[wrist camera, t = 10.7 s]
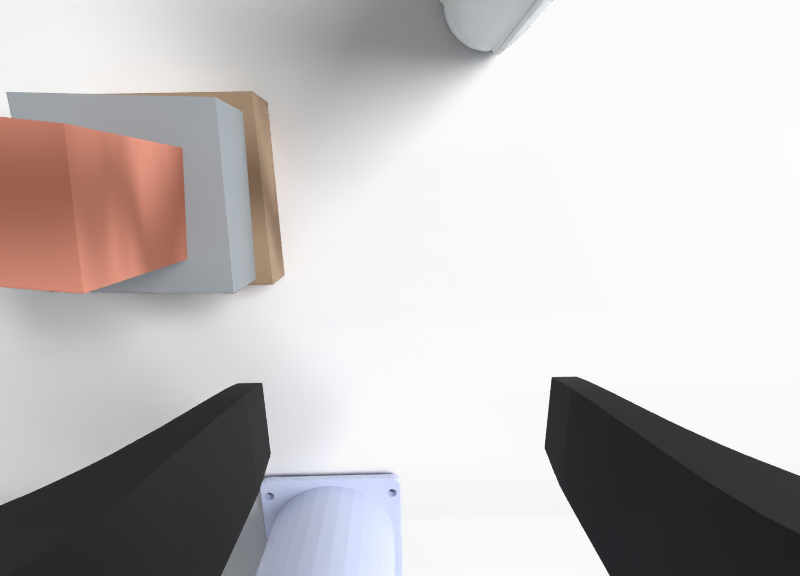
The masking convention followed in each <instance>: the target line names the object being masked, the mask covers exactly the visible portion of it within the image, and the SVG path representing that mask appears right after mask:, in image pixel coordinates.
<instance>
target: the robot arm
mask: <svg viewBox="0 0 800 576" xmlns="http://www.w3.org/2000/svg"><path fill="white" fill-rule="evenodd" d="M545 450H546V453H547V455H548V458H549V460H550V463H551V466H552V468H553V471H554V473H555V475H556V478H557V480H558V482H559V485H560V487H561V489H562V491H563V493H564V494H565V496H566V498H567V500H568V502H569V504H570V505H571V507H572V509H573V511H574V513H575V514H576V516H577V518H578V520H579V522H580V523H581V525H582V527H583V529H584V531H585V532H586V534H587V536H588V538H589V539H590V541H591V543H592V545H593V547H594V548H595V550H596V552H597V554H598V555H599V557H600V559H601V561H602V563H603V564H604V566H605V568H606V570H607V571H608V573H609V575H610V576H800V476H799V475H796V474H793V473H791V472H788V471H786V470H783V469H780V468H778V467H775V466H773V465H770V464H767V463H765V462H762V461H760V460H757V459H755V458H752V457H749V456H747V455H744V454H742V453H740V452H737V451H735V450H732V449H730V448H728V447H725V446H723V445H721V444H718V443H716V442H714V441H712V440H709V439H707V438H705V437H703V436H701V435H698V434H696V433H694V432H692V431H689V430H687V429H685V428H683V427H681V426H679V425H677V424H675V423H672V422H670V421H668V420H666V419H664V418H662V417H660V416H658V415H656V414H654V413H652V412H650V411H648V410H646V409H644V408H642V407H640V406H638V405H636V404H634V403H632V402H630V401H628V400H626V399H624V398H622V397H620V396H618V395H616V394H614V393H612V392H610V391H608V390H606V389H604V388H602V387H599V386H597V385H595V384H593V383H591V382H589V381H586V380H584V379H581V378H578V377H552V380H551V390H550V400H549V410H548V419H547V429H546V439H545ZM270 454H271V452H270V444H269V436H268V427H267V419H266V411H265V403H264V394H263V386H262V383H237V384H235V385H233V386H231V387H229V388H227V389H225V390H223V391H221V392H220V393H218V394H216V395H214V396H213V397H211V398H209V399H207V400H206V401H204V402H202V403H201V404H199V405H197V406H196V407H194V408H192V409H191V410H189V411H187V412H186V413H184V414H182V415H180V416H179V417H177V418H175V419H174V420H172V421H170V422H169V423H167V424H165V425H163V426H162V427H160V428H158V429H156V430H155V431H153V432H151V433H149V434H147V435H145V436H144V437H142V438H140V439H138V440H136V441H135V442H133V443H131V444H129V445H127V446H126V447H124V448H122V449H120V450H118V451H116V452H115V453H113V454H111V455H109V456H107V457H105V458H103V459H101V460H99V461H97V462H95V463H93V464H91V465H89V466H87V467H85V468H83V469H81V470H79V471H77V472H75V473H73V474H71V475H68V476H66V477H64V478H62V479H60V480H58V481H56V482H53V483H51V484H49V485H47V486H45V487H43V488H40V489H38V490H36V491H34V492H31V493H29V494H27V495H24V496H22V497H19V498H17V499H15V500H12V501H10V502H7V503H5V504H3V505H0V576H221V574H222V572H223V570H224V568H225V566H226V563H227V561H228V559H229V557H230V555H231V552H232V550H233V548H234V546H235V544H236V542H237V539H238V537H239V535H240V533H241V531H242V529H243V526H244V524H245V522H246V520H247V518H248V515H249V513H250V511H251V509H252V507H253V504H254V502H255V500H256V497H257V495H258V493H259V490H260V492H261V500H262V508H263V516H264V524H265V532H266V540H267V544H266V547H265V550H264V553H263V556H262V558H261V561H260V564H259V567H258V570H257V573H256V575H255V576H402V538H401V481H400V478H399V477H398V476H397V475H395V474H373V475H334V476H296V477H268V478H265V479H264V480H263V477H264V474H265V471H266V468H267V464H268V461H269V458H270ZM391 489H393V490H395V491H393V492H391V491H389V490H391ZM268 493H272V494H273V495H270V494H268Z"/></svg>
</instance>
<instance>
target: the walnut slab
mask: <svg viewBox="0 0 800 576" xmlns="http://www.w3.org/2000/svg"><path fill="white" fill-rule="evenodd" d="M109 95H151V96H193V97H216V98H218V99H220V100H222V101H224V102H225V103H227V104H229V105H231V106H233V107H235V108H237V109H238V110H240V111H242V112H243V120H244V133H245V145H246V158H247V171H248V183H249V196H250V209H251V221H252V234H253V246H254V259H255V272H256V280H254V281H253V282H251V283H250V284H248V285H266V284H274V283H275V282H276V281H278V280H279V279H280V278H281V277H283V276H284V266H283V256H282V246H281V235H280V225H279V215H278V205H277V195H276V185H275V175H274V165H273V155H272V144H271V134H270V124H269V114H268V104H267V102H266V101H265V100H263V99H262V98H260V97H259V96H258V95H256V94H255V93H253V92H252V91H248V92H189V93H131V94H109Z"/></svg>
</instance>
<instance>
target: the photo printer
mask: <svg viewBox="0 0 800 576" xmlns="http://www.w3.org/2000/svg"><path fill="white" fill-rule="evenodd" d="M552 1H553V0H440V2H441V3H442V4H443V5H444V14H445V18H446V21H447V24H448V26H449V28H450V30H451V31H452V33H453V34H454V35H455V36H456V38H457V39H458V40H459V41H461V42H462V43H463V44H464V45H466V46H467V47H469V48H471V49H474V50H478V51H485V52H487V51H490V50H492V51H493V52H494V53H495V54H496V55H498V54H500V53H501V52H503V51H504V50H505V49H507V48H508V47H509V46H510V45H511V44H512V43H514V42H515V41H516V40H517V39H518V38H519V37H520V36H521V35H522V34H523V33H524V32H525V31H526V30H527V29H528V28H529V26H530V25H531V24H532V23H533V22H534V21H535V20H536V19H537V18H538V16H539V15H540V14H541V13H542V12H543V11H544V10H545V9H546V7H547V6H548V5H549V4H550V3H551V2H552Z"/></svg>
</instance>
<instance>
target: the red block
mask: <svg viewBox="0 0 800 576" xmlns="http://www.w3.org/2000/svg"><path fill="white" fill-rule="evenodd" d="M186 259H187V238H186V215H185V192H184V170H183V148H181V147H176V146H171V145H166V144H161V143H157V142H152V141H147V140H142V139H137V138H132V137H128V136H123V135H118V134H113V133H108V132H103V131H99V130H94V129H89V128H84V127H79V126H75V125H70V124H65V123H56V122H46V121H36V120H26V119H17V118H7V117H0V287H8V288H20V289H32V290H44V291H56V292H68V293H80V294H84V293H87V292H90V291H93V290H96V289H99V288H102V287H105V286H108V285H111V284H114V283H117V282H120V281H123V280H126V279H129V278H132V277H135V276H138V275H141V274H144V273H147V272H150V271H153V270H156V269H159V268H162V267H165V266H168V265H171V264H174V263H177V262H180V261H183V260H186Z"/></svg>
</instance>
